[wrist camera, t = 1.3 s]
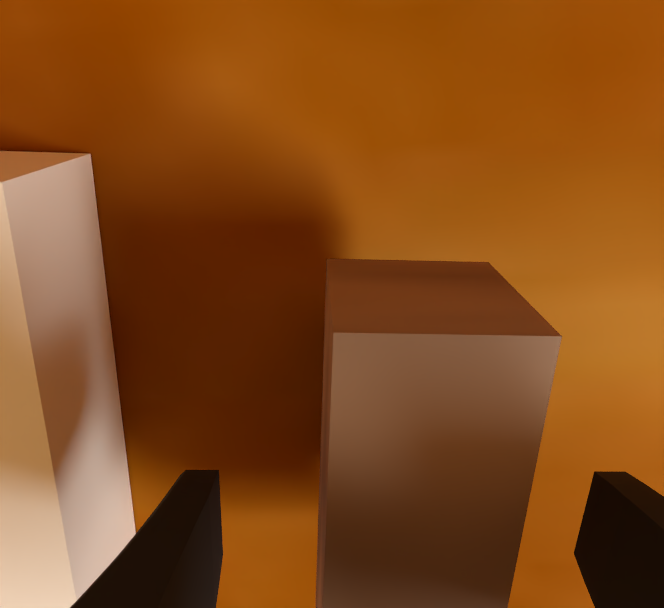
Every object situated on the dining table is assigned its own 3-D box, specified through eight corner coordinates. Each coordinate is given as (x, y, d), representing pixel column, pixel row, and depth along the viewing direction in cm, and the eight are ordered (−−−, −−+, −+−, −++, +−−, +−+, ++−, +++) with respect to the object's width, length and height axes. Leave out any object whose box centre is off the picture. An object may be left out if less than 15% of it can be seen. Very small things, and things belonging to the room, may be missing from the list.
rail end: (419, 515, 17) (478, 749, 11) (314, 515, 17) (317, 752, 11) (452, 226, 14) (561, 336, 8) (323, 223, 14) (333, 333, 8)
